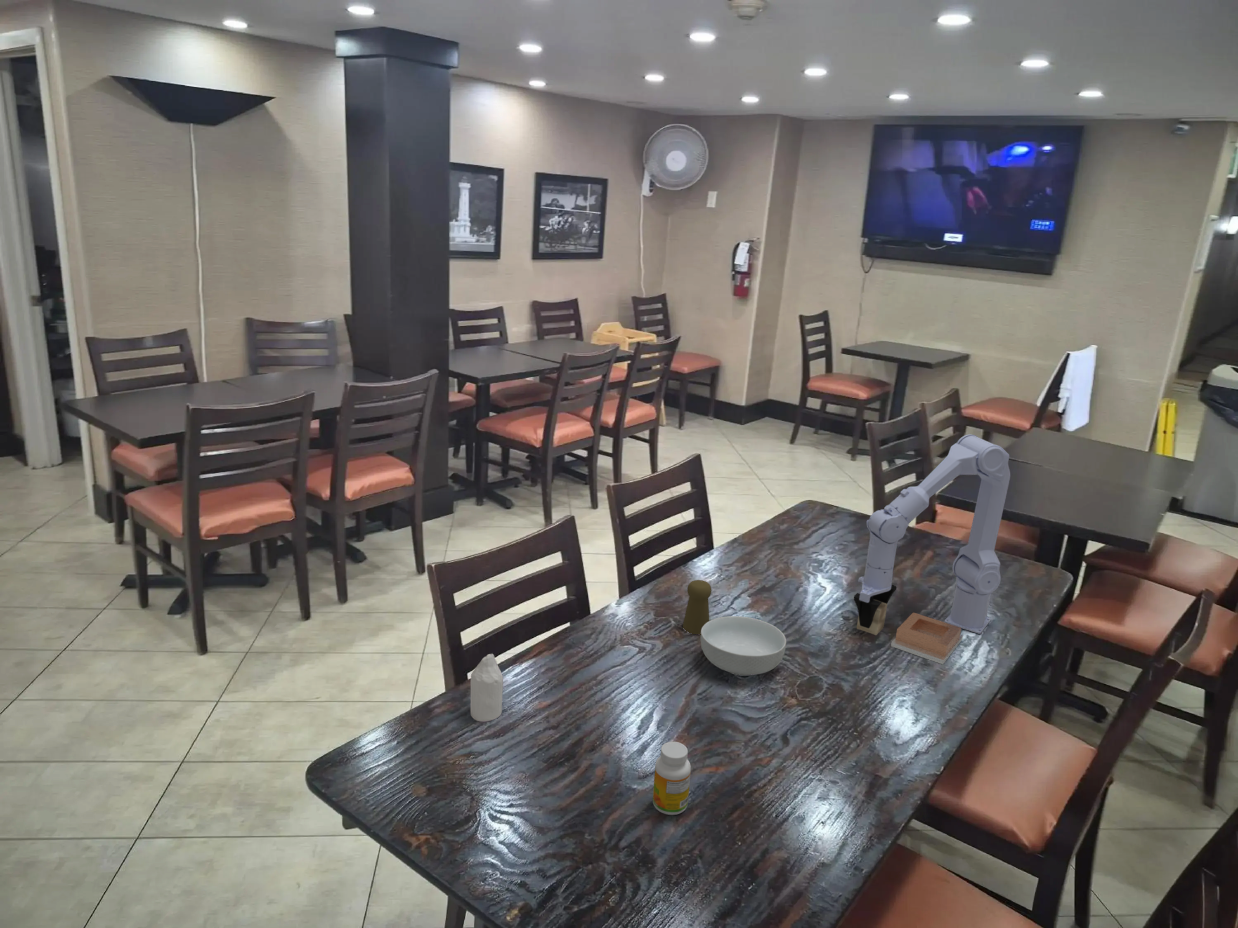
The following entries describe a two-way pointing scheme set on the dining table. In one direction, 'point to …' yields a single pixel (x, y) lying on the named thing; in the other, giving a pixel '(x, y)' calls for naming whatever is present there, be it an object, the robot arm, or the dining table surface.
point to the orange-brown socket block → (927, 638)
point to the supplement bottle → (672, 779)
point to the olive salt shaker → (697, 606)
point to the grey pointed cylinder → (486, 690)
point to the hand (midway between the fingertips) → (871, 620)
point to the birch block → (876, 620)
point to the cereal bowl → (742, 645)
